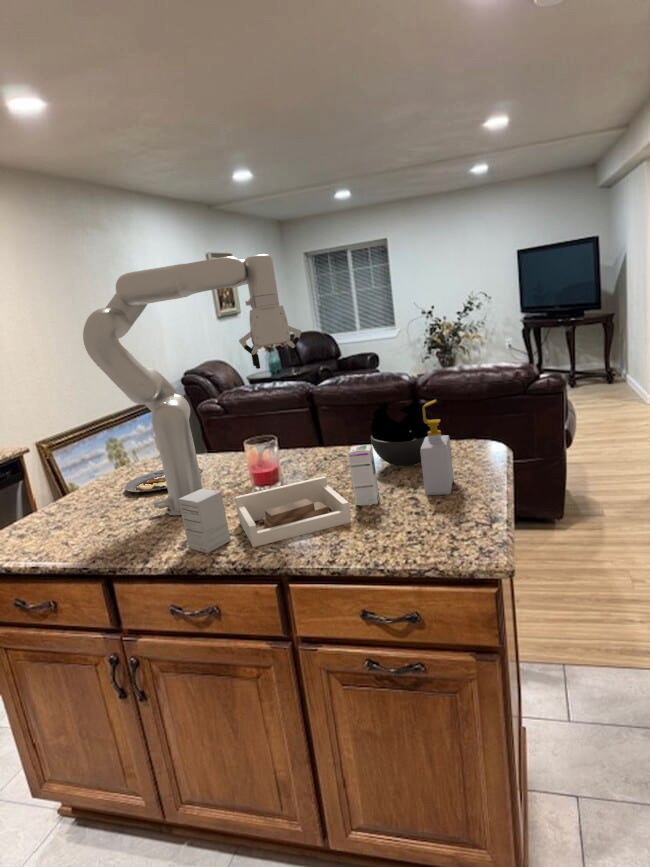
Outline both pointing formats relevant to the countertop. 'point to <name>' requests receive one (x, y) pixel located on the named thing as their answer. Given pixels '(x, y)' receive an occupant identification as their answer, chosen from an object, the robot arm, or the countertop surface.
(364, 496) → the syrup box
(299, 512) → the offcut pile
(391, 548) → the countertop surface
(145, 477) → the food plate
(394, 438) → the coal bowl
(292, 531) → the tray
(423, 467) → the soap bottle
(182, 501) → the supplement box
